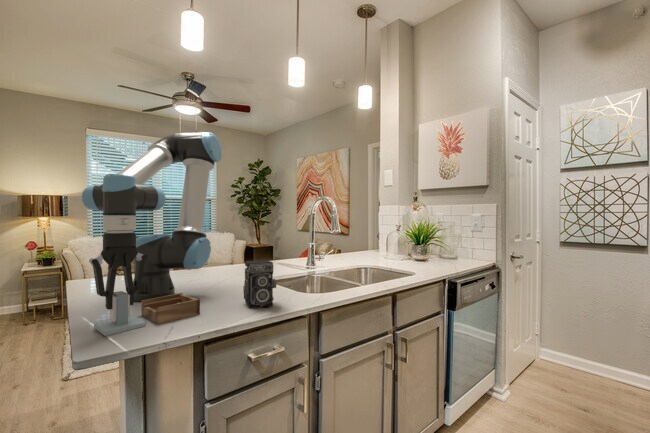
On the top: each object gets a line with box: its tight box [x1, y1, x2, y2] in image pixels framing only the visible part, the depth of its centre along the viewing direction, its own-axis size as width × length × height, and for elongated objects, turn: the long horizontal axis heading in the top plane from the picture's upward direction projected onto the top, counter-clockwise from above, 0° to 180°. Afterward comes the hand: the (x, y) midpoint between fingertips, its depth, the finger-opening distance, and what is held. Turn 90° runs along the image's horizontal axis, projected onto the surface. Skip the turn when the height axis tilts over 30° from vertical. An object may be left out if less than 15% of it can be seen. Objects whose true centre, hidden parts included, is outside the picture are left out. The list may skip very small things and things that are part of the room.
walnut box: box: [141, 292, 201, 325], centre depth 96 cm, size 12×12×5 cm
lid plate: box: [93, 290, 147, 337], centre depth 85 cm, size 10×9×9 cm
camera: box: [242, 259, 277, 309], centre depth 106 cm, size 10×10×15 cm
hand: (119, 319), depth 85 cm, fingers closed on lid plate, 2 cm apart
